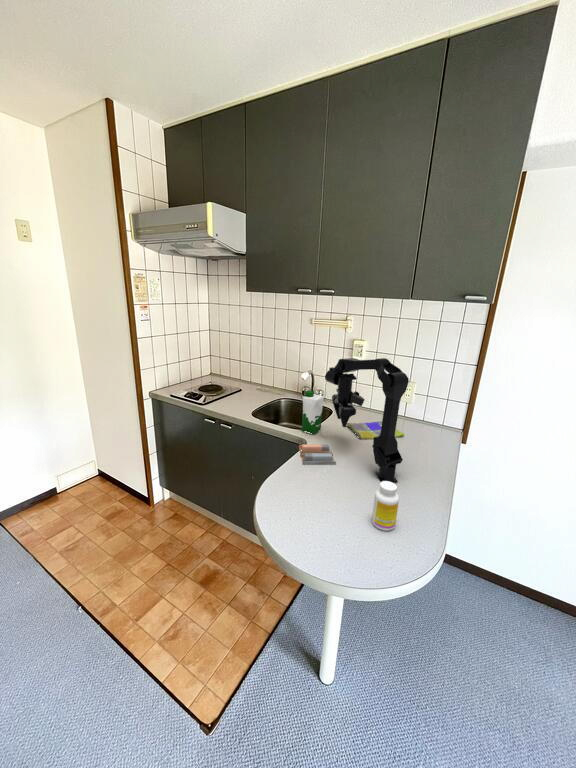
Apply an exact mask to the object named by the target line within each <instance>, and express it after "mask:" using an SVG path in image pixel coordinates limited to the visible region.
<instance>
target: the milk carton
mask: <svg viewBox="0 0 576 768" xmlns="http://www.w3.org/2000/svg"><path fill="white" fill-rule="evenodd" d="M304 393H305V394H304V395H303V396H302V418H301V419H302V421H301V431H307V432H310V433H312V434H315V435H317V434H318V433H319V432H320V431H321V427H322V415H323V407H324V406H323V405H324V398H325V397H324V395H320V394H316V393H314V391H313V390H305V391H304ZM319 430H320V431H319ZM318 431H319V432H318ZM317 432H318V433H317ZM316 433H317V434H316ZM312 434H311V435H312Z"/></svg>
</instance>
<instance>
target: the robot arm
mask: <svg viewBox="0 0 576 768" xmlns="http://www.w3.org/2000/svg"><path fill="white" fill-rule="evenodd" d="M359 370H360V371H361V370H364V371H365V370H366V371H367V370H375V371H376V375H377V379H378V380H379V381H380V382H381V384H382V391H383V395H384V396H385V400H384V405H383V406H384V407H383V413H382V426H381V433H380V435H379V436H377V437H374V439H372V442H373V444H372V452H373V456H374V457H373V458H374V463H375V464H377V466H378V472H377V471H375V472H374V474H375V475H376V477H377V478H378V480H379V481H380V483H381V482H382V481H389V482H392V483H394V484H395V483H398V482H399V480H398V479H397V478H396V477H395V475H396V470H397V469H396V468H397V465H399V464H401V463H402V462H403V460H404V459H403V457H402V455H401V453H400V451H399V449H398V446H399V445H398V441H397V438H395V430H397V422H398V416H399V409H400V404H401V398H402V396H404V394H406V393H405V392H406V391H407V388H408V386H409V380H410V379H409V377H408V376H407V374H406V373H405V372H403V370H401V368H399V367H398V366H396V365H395V364H394V363H391V361H390V360H389V359H388V358H385V357H383V358H382V357H381V358H376V359H358V358H354V357H350V358H349V357H348V358H340V359H338V361H337V364H336V365H335V366H334V367H333V366H332V367H329V369H328V370H327V371H326V373H325V375H324V380H325V381H326V382H327V383H330V384H333V385H335V386H337V388H336V392H337V394H333V395H332V396H331V401H332V405H333V408H334V411H335V414H336V417H337V419H338V420H340V421H341V425H342V427H343V428H346V427H347V423H349V419H350V418H351V417H352V416H355V415H357V409H356V408H355V406H354V405H353V404H355V405H358V406H359V407H362V406H363V404H364V402H365V401H366V400H365V398H364V397H363V396H361V395H360V393H359V392H358V391H356V390H355V391H354V392H353V391H352V389H353V381H356V380H357V378H358V377H356V376H355V375H354V372H357V371H359Z"/></svg>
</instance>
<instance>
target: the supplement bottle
mask: <svg viewBox="0 0 576 768" xmlns="http://www.w3.org/2000/svg"><path fill="white" fill-rule="evenodd" d="M397 490H398V486H397V485H396V484H395V483H392V482H389V481H382V482H380V483H379V488H378V489H376V491H375V493H374V498H373V499H374V500H373V507H372V515H371V523H372V524H373V525H374V527H376V528H377V529H378V530H380V531H385V532H388V531H392V530H394V529H395V527H396V522H397V515H398V509H399V501H400V497H399V495H398V493H397Z"/></svg>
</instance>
